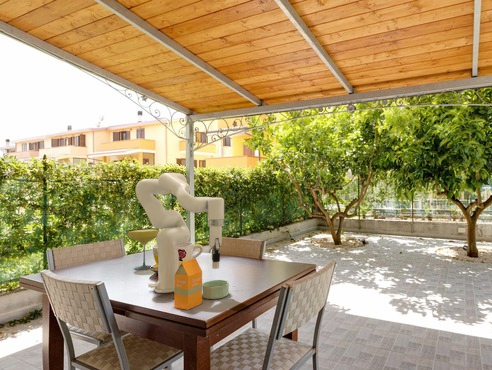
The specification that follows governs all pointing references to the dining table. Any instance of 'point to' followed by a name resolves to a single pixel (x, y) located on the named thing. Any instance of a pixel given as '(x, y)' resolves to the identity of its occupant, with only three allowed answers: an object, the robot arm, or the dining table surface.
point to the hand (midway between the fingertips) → (215, 260)
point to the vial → (214, 263)
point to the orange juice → (188, 285)
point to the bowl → (215, 289)
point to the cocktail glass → (143, 240)
